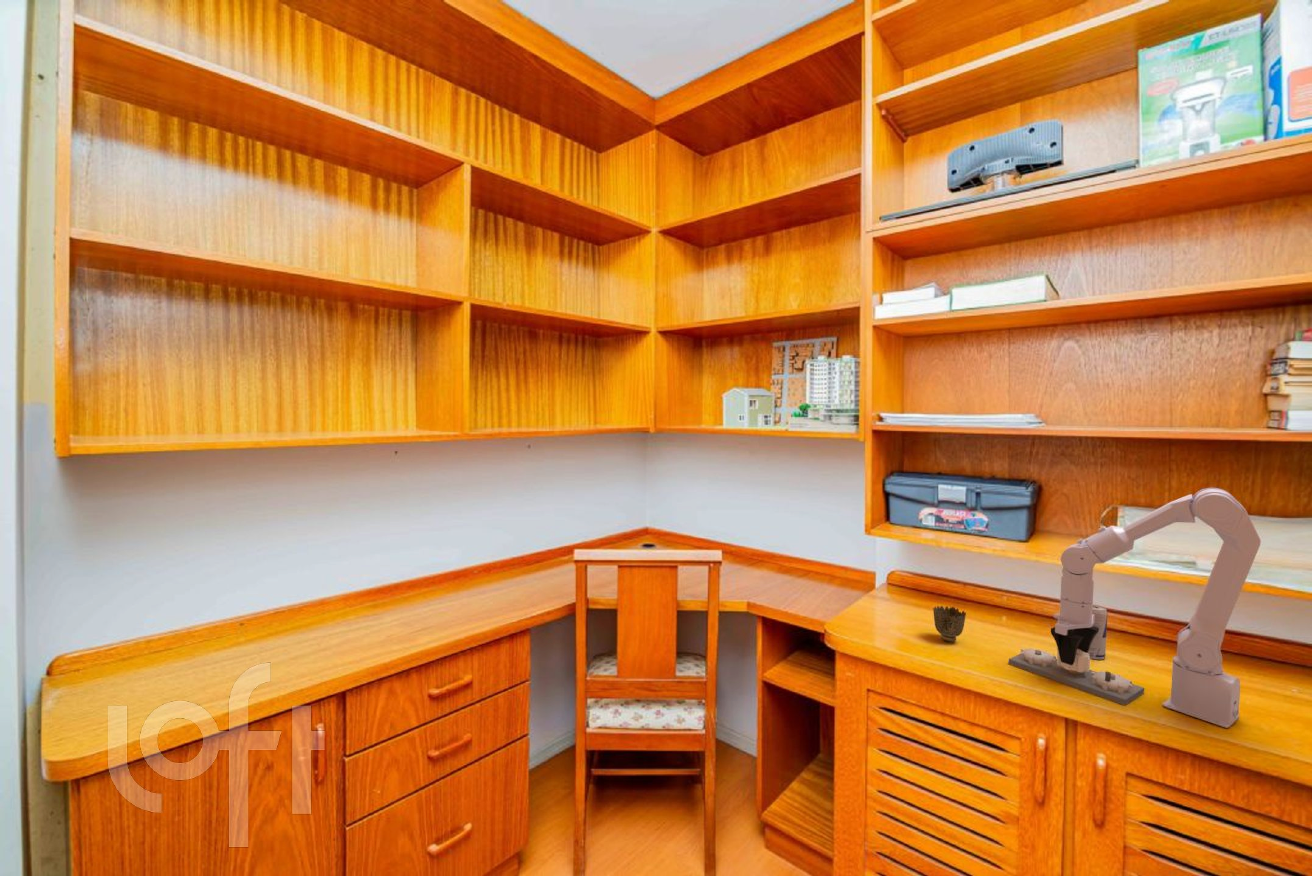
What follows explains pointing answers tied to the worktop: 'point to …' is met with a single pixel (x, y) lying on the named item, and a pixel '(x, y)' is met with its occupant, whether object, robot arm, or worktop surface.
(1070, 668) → the loose gear
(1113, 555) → the robot arm
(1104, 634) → the energy drink
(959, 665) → the worktop surface
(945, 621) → the cup
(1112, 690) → the gear board
